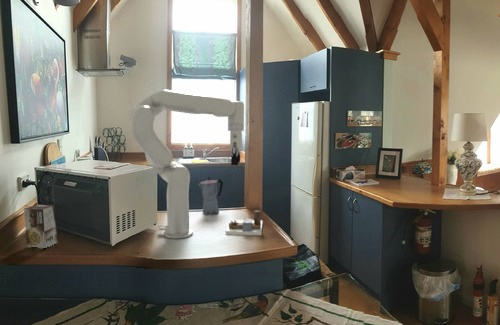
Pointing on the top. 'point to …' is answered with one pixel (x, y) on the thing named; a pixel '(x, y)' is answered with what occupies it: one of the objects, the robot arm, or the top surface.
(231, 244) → the top surface
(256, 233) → the base plate
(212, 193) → the moka pot
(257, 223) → the walnut link
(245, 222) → the keeper
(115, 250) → the top surface
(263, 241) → the top surface
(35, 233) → the coffee box
